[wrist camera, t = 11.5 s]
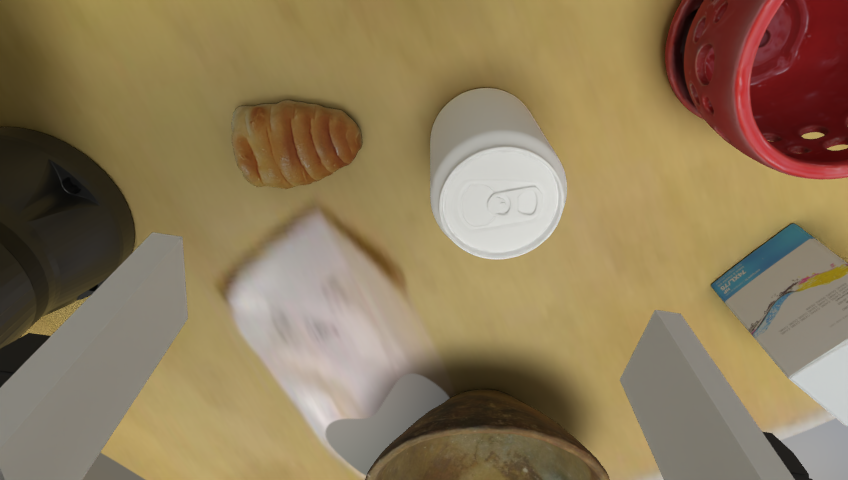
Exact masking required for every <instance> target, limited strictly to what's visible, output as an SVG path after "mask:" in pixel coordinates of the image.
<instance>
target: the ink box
mask: <svg viewBox="0 0 848 480" xmlns="http://www.w3.org/2000/svg"><path fill="white" fill-rule="evenodd" d="M711 286H712V288H713V289H714V290H715V292H716V293H717V294H718V295H719V297H720V298H721V299H722V300H723V301H724V302H725V304H726V305H727V306H728V307H729V308H730V310H731V311H732V312H733V313H734V314H735V316H736V317H737V318H738V319H739V320H740V321H741V323H742V324H743V325H744V326H745V327H746V329H747V330H748V331H749V332H750V333H751V335H752V336H753V337H754V338H755V339H756V340H757V342H758V343H759V344H760V345H761V346H762V348H763V349H764V350H765V351H766V352H767V354H768V355H769V356H770V357H771V358H772V360H773V361H774V362H775V363H776V364H777V366H778V367H779V368H780V369H781V370H782V372H783V373H784V374H785V375H786V376H787V378H788V379H790V380H791V381H792V382H793V383H794V384H796V385H797V386H798V387H799V388H801V389H802V390H803V391H804V392H805V393H806V394H808V395H809V396H810V397H811V398H812V399H814V400H815V401H816V402H817V403H818V404H820V405H821V406H822V407H823V408H824V409H826V410H827V411H828V412H829V413H830V414H832V415H833V416H834V417H835V418H836V419H838V420H839V421H840V422H841V423H843V424H844V425H845V426H848V263H847V262H845V261H844V260H843V259H841V258H840V257H839V256H837V255H836V254H835V253H833V252H832V251H831V250H829V249H828V248H827V247H826V246H824V245H823V244H822V243H820V242H819V241H818V240H816V239H815V238H814V237H812V236H811V235H810V234H808V233H807V232H805V231H804V230H803V229H802V228H800V227H799V226H798V225H796V224H794V223H793V224H791V225H789V226H788V227H786V228H785V229H784V230H782V231H781V232H780V233H778V234H777V235H776V236H775V237H773V238H772V239H770V240H769V241H767V242H766V243H765V244H763V245H762V246H761V247H759V248H758V249H757V250H755V251H754V252H753V253H751V254H750V255H749V256H747V257H746V258H745V259H743V260H742V261H741V262H740V263H738V264H737V265H736V266H734V267H733V268H732V269H730V270H729V271H728V272H727V273H725V274H724V275H723V276H722V277H720V278H719V279H718V280H717V281H715V282H714V283H713V284H712V285H711Z"/></svg>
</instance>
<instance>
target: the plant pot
mask: <svg viewBox="0 0 848 480" xmlns="http://www.w3.org/2000/svg"><path fill="white" fill-rule="evenodd" d="M665 62H666V71H667V75H668V79H669V82H670V84H671V87H672V89H673V91H674V93H675V95H676V96H677V98H678V99H679V100H680V102H681V103H682V104H683V105H684V106H685V107H686V108H687V109H688V110H689V111H691V112H692V113H693V114H695V115H697V116H698V117H700V118H702V119H704V120H705V121H706V122H707V123H708V124H709V125H710V126H711V127H712V128H713V129H714V130H715V131H716V132H717V133H718V134H719V135H720V136H721V137H722V138H723V139H724V140H726V141H727V142H728V143H729V144H731V145H732V146H734V147H735V148H736V149H738V150H739V151H741V152H742V153H744V154H745V155H747V156H749V157H750V158H752V159H754V160H756V161H757V162H759V163H761V164H763V165H765V166H767V167H770V168H772V169H774V170H777V171H779V172H782V173H785V174H788V175H792V176H796V177H802V178H809V179H838V178H846V177H848V148H847V149H844V150H839V151H831V150H828V149H827V148H829V147H831V146H836V145H841V144H845V145H848V127H847V126H848V0H682V1H681V3H680V5H679V7H678V8H677V10H676V13H675V15H674V17H673V20H672V22H671V25H670V28H669V32H668V36H667V41H666V49H665ZM810 132H820V133H823V134H824V136H822V137H820V138H817V139H804V138H803V137H801V136H802V135H803V134H806V133H810ZM767 140H769V141H767ZM771 141H773V142H771Z"/></svg>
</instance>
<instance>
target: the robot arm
mask: <svg viewBox="0 0 848 480" xmlns="http://www.w3.org/2000/svg"><path fill="white" fill-rule="evenodd" d="M133 246H134V226H133V221H132V217H131V214H130V211H129V208H128V206H127V204H126V202H125V200H124V198H123V196H122V194H121V193H120V191H119V190H118V188H117V187H116V185H115V184H114V183H113V182H112V180H111V179H110V178H109V177H108V176H107V175H106V173H105V172H104V171H103V170H102V169H101V168H100V167H98V166H97V165H96V164H95V163H94V162H93V161H92V160H90V159H89V158H88V157H87V156H85V155H84V154H83V153H81V152H80V151H78V150H77V149H75V148H73V147H72V146H70V145H68V144H66V143H64V142H62V141H60V140H58V139H56V138H54V137H51V136H49V135H46V134H43V133H40V132H37V131H33V130H29V129H24V128H17V127H0V480H82V479H83V478H84V476H85V475H86V473H87V472H88V470H89V469H90V467H91V465H92V464H93V462H94V461H95V459H96V458H97V456H98V455H99V453H100V452H101V450H102V449H103V447H104V446H105V444H106V443H107V441H108V440H109V438H110V437H111V435H112V433H113V432H114V430H115V429H116V427H117V426H118V424H119V423H120V421H121V420H122V418H123V417H124V415H125V414H126V412H127V411H128V409H129V408H130V406H131V404H132V403H133V401H134V400H135V398H136V397H137V395H138V394H139V392H140V391H141V389H142V388H143V386H144V385H145V383H146V382H147V380H148V379H149V377H150V375H151V374H152V372H153V371H154V369H155V368H156V366H157V365H158V363H159V362H160V360H161V359H162V357H163V356H164V354H165V353H166V351H167V350H168V348H169V347H170V345H171V343H172V342H173V340H174V339H175V337H176V336H177V334H178V333H179V331H180V330H181V328H182V327H183V325H184V324H185V322H186V321H187V319H188V311H187V297H186V282H185V267H184V252H183V237H180V236H173V235H167V234H160V233H154V232H152V233H151V234H150V235H149V237H148V238H147V239H146V240H145V241H144V242H143V243H142V244H141V245H140V246H139V247H138V248H137V249H136V250H135V251H134V252H133V253H132V251H133ZM90 295H91V296H90ZM88 296H90V297H89V298H88V299H87V300H86V301H85V302H84V303H83V304H82V305H81V306H80V307H79V308H78V309H77V310H76V311H75V312H74V313H73V314H72V315H71V316H70V317H69V318H68V319H67V320H66V321H65V322H64V323H63V324H62V325H61V326H60V327H59V328H58V329H57V330H56V331H55V332H54V333H53V334H52V335H51V336H47V335H40V334H32V333H28V334H26V335H25V336H23V337H21V336H22V335H23V334H24V333H25V332H26V331H27V330H28V329H29V328H30V327H31V326H32V325H33V324H34V323H35V322H36V321H38V320H39V319H40V318H41V317H43V316H45V315H47V314H50V313H52V312H54V311H56V310H59V309H61V308H63V307H65V306H67V305H70V304H71V303H73V302H75V301H77V300H80V299H83V298H85V297H88ZM20 337H21V338H20ZM620 381H621V384H622V386H623V388H624V390H625V393H626V395H627V397H628V399H629V402H630V404H631V406H632V409H633V411H634V413H635V415H636V418H637V420H638V422H639V424H640V427H641V429H642V431H643V433H644V436H645V438H646V440H647V443H648V445H649V447H650V449H651V452H652V454H653V456H654V458H655V461H656V463H657V465H658V467H659V470H660V472H661V474H662V476H663V479H664V480H812V479H809V474H808V473H807V471H806V470H805V468H804V467H803V466H802V464H801V463H800V462H799V460H798V459H797V457H796V456H795V455H794V453H793V452H792V451H791V450H790V449H788V448H787V447H786V446H785V445H784V444H783V443H782V442H781V441H780V440H779V439H778V438H776V437H775V436H774V435H773V434H772V433H767V432H762V431H761V430H760V428H759V427H758V425H757V424H756V422H755V421H754V420H753V418H752V417H751V415H750V414H749V412H748V411H747V409H746V408H745V406H744V405H743V404H742V402H741V401H740V399H739V398H738V396H737V395H736V393H735V392H734V390H733V389H732V388H731V386H730V385H729V383H728V382H727V380H726V379H725V377H724V376H723V374H722V373H721V372H720V370H719V369H718V367H717V366H716V364H715V363H714V361H713V360H712V359H711V357H710V356H709V354H708V353H707V351H706V350H705V348H704V347H703V345H702V344H701V343H700V341H699V340H698V338H697V337H696V335H695V334H694V332H693V331H692V329H691V328H690V327H689V325H688V324H687V322H686V321H685V319H684V318H683V316H682V315H681V314H679V313H673V312H666V311H660V310H655V311H654V313H653V315H652V317H651V319H650V321H649V323H648V325H647V327H646V329H645V331H644V333H643V335H642V337H641V339H640V341H639V343H638V345H637V347H636V349H635V351H634V353H633V355H632V356H631V358H630V360H629V362H628V364H627V366H626V368H625V370H624V372H623V374H622V376H621V378H620Z"/></svg>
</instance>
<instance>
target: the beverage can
mask: <svg viewBox="0 0 848 480" xmlns="http://www.w3.org/2000/svg"><path fill="white" fill-rule="evenodd" d="M566 196H567V181H566V175H565V172H564V169H563V166H562V164H561V162H560V160H559V158H558V157H557V155H556V153H555V152H554V150H553V148H552V147H551V145H550V144H549V142H548V140H547V139H546V137H545V135H544V134H543V132H542V131H541V129H540V127H539V126H538V124H537V122H536V121H535V119H534V118H533V116H532V114H531V113H530V111H529V110H528V108H527V107H526V106H525V105H524V103H523V102H521V101H520V100H519V99H518V98H517V97H515V96H514V95H512V94H510V93H508V92H505V91H503V90H499V89H494V88H479V89H473V90H470V91H467V92H464V93H462V94H460V95H458V96H457V97H455V98H453V99H452V100H451V101H450V102H448V103H447V104H446V105H445V106H444V108H443V109H442V110H441V111H440V113H439V114H438V116H437V118H436V120H435V122H434V124H433V127H432V131H431V137H430V200H431V207H432V211H433V214H434V217H435V219H436V222H437V223H438V225H439V227H440V228H441V230H442V231H443V232H444V233H445V235H446V236H447V237H448V238H449V239H451V240H452V241H453V242H454V243H455V244H456V245H457V246H458V247H460V248H461V249H463V250H464V251H466V252H468V253H470V254H472V255H475V256H478V257H481V258H487V259H508V258H513V257H517V256H520V255H523V254H525V253H527V252H529V251H531V250H533V249H535V248H536V247H538V246H539V245H540V244H542V243H543V242H544V241H545V240H546V239H547V238H548V237H549V236H550V235H551V234H552V232H553V231H554V229H555V228H556V226H557V224H558V222H559V220H560V218H561V215H562V211H563V209H564V206H565V202H566Z"/></svg>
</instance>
